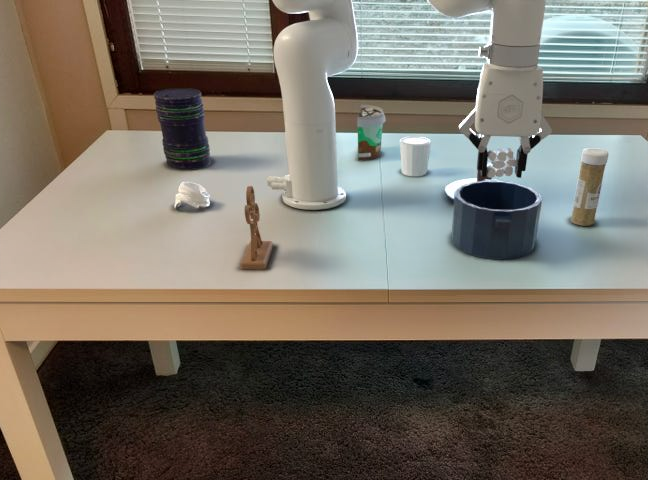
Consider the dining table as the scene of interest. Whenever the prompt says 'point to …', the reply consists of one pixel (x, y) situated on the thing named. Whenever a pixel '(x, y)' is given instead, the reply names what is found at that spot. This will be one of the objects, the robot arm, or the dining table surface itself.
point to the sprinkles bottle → (589, 186)
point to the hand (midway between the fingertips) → (500, 173)
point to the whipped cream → (192, 195)
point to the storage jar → (183, 128)
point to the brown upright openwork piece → (255, 237)
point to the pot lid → (454, 185)
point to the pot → (495, 219)
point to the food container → (370, 132)
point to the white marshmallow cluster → (501, 163)
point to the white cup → (414, 155)
